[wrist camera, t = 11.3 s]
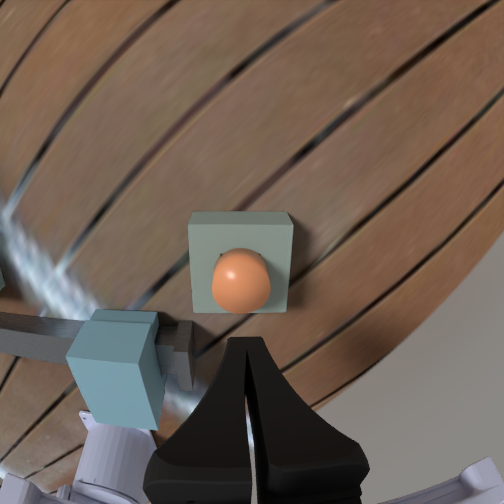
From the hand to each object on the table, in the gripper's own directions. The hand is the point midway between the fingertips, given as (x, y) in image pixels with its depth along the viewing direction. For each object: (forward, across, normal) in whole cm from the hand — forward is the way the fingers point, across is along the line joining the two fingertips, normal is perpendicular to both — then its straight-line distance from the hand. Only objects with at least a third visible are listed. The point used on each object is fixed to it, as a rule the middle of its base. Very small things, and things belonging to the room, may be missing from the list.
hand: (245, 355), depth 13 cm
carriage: (+10, +8, +8) cm, 15 cm away
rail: (+10, +14, +8) cm, 19 cm away
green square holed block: (+10, 0, 0) cm, 10 cm away
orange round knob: (+10, 0, 0) cm, 10 cm away
